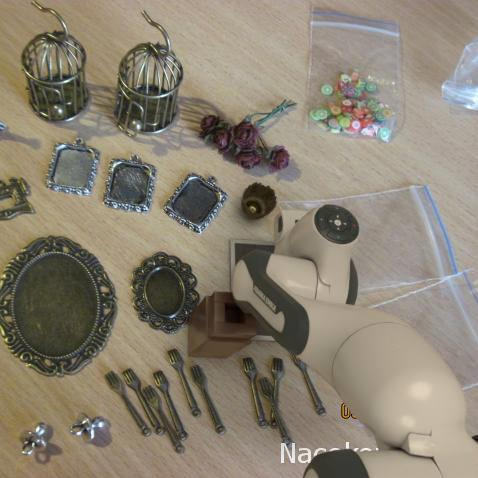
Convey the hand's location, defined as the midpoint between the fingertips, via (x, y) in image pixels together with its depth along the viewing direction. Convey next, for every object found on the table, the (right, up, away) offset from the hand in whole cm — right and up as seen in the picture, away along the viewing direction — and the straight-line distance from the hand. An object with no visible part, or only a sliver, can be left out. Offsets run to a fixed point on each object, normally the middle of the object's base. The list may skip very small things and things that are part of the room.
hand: (276, 277), depth 109 cm
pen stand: (-13, -13, +5) cm, 19 cm away
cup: (-3, +14, +16) cm, 21 cm away
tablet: (0, -3, +10) cm, 10 cm away
